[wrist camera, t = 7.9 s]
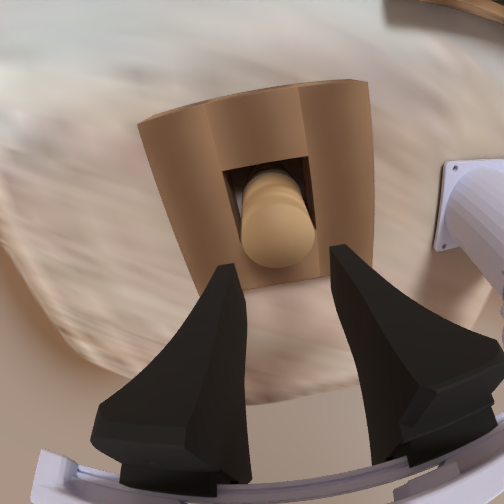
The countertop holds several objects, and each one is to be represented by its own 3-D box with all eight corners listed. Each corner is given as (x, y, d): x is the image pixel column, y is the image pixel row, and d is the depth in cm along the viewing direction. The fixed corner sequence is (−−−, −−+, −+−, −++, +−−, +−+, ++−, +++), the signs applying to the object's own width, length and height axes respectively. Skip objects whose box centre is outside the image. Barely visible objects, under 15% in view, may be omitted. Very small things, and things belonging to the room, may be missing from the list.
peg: (290, 152, 18) (311, 198, 12) (297, 199, 19) (318, 262, 14) (237, 162, 18) (232, 212, 12) (248, 208, 20) (249, 274, 14)
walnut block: (349, 79, 15) (367, 81, 12) (359, 243, 21) (371, 267, 19) (153, 115, 16) (136, 124, 13) (204, 269, 23) (199, 296, 20)
